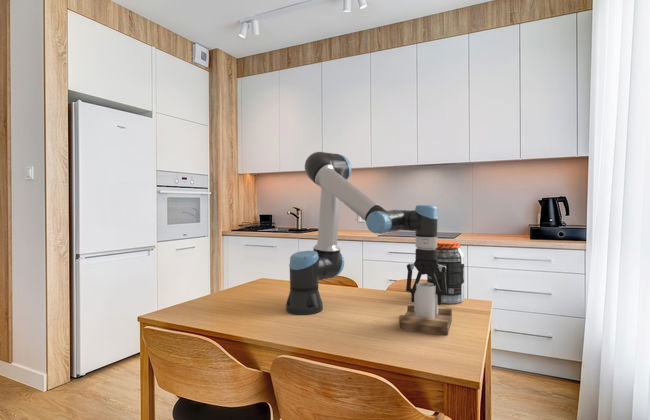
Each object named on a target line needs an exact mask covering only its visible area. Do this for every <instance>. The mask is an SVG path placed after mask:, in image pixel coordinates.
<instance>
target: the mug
mask: <svg viewBox="0 0 650 420" xmlns="http://www.w3.org/2000/svg"><path fill="white" fill-rule="evenodd" d="M415 293H416V317H424V318H433V319H434V317H435V295H436V285H435V286H434V284H433V283H427V281H426V282H424V281H423V282H420V281H419V283H418V285H417V284H416V292H415Z"/></svg>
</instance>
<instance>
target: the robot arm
mask: <svg viewBox="0 0 650 420" xmlns="http://www.w3.org/2000/svg"><path fill="white" fill-rule="evenodd" d="M304 172H305V174H306V177H308V179H309V180H310V181H312V183H314V184H315V185H316V186H318V187H320V201H319V203H320V204H319V213H318V214H319V215H318V230H317V231H318V232H317V243H316V244H315V245H314V246H313V250H304V251H303V250H302V251H297V252H295V253H292V255H291V256H290V257H289V265H288V266H289V293H288V297H287V300H286V304H285V311H286V312H287V313H289V314H293V315H313V314H317V313H320V312H322V311H323V309H324V304H323V303H324V302H323V301H322V300H323V299H322V297H321V294H320V291H319V281H323V280H327V279H332V278H334V277H336V276H339V275H340V274H341V273H342V271H343V270H344V267H345V259H344V257H343V254H342V252H341V248H340V247H339V246H338V236H339V235H338V234H339V233H338V232H339V223H340V222H339V221H340V210H341V203H343V204H344V205H345V206H346V207H347V208H349V209H350V210H351V211H352V212H353V213H354V214H356V215H357V216H358V217H359V218H361V219H362V220H363V221H364V222H365V223H366V227H367V229H368V230H369V231H370V232H371V233H373V234H380V235H381V234H387V233H391V232H392V233H394V232H400V231H406V232H408V231H409V232H410V231H411V232H414V234H415V247H416V248H415V260H414V263H407V264H406V269H407V276H406V278H407V279H406V288H405V291H406V292H407V293H410V295H411V296H410V297H411V298H410V300H411V303H413V304H414V312H416V284H417V285H418V283H420V280H421V278H422V276H423V275H426V276H427V275H430V276H431V278H432V281H433V284H434V286H435V285H436V292H437V294H436V296H435V315H438V307H439V306H441V305H442V303H441V296H442V295H446V293H447V287H446V277H445V271H446V266H442V265H439V264H438V261H437V249H436V248H437V241H438V219H439V217H438V207H437V206H436V205H433V204H417V205H416V206H415V207H414V208H415V209H414V210H409V209H408V210H407V209H405V210H403V209H401V210H400V209H391V210H390V209H389V210H386V209H385V208H384V207H382V205H379V204H378V203H377V202H376V201H375V200H373V199H372V198H370V197H369V196H368V195H367V194H366V193H364V192H363V191H361V190H360V189H359V188H358V187H356V186H355V185H354V184H353V183H351V182H350V181H349V180H348V179H349V178H350V177H351V175H352V165H351V162H350V160H349V158H348V157H346V156H344V155H343V154H339V153H331V152H326V151H325V152H324V151H316V152H315V151H314V152H313V153H311V154H310V155H309V156H308V157H306V160H305V162H304ZM414 267H415V268H416V270H417V275H416V278H415V279H414V280H415V281H414V283H413V285H412V280H413V279H412V278H413V270H414V269H415V268H414ZM437 268H439V271H440V272H441V281H442V291H441V290H440V287H439V284H438V281H437V278H436V275H435V270H436V269H437Z"/></svg>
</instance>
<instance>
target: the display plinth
mask: <svg viewBox="0 0 650 420" xmlns="http://www.w3.org/2000/svg"><path fill="white" fill-rule="evenodd" d="M406 307H407V308H406V309H407V310H406V311H405V313H404V314H400V315H399V316H398V322H399V325H398V326H399V330H405V331H411V332H412V331H414V332H421V333H429V334H438V335H444V336H449V331H450V329H451V324H452V321H453V318H452V317H453V316H452V314H453V308H452V307H445V306H444V307H443V306H438V315H435V317H434V319H433V318H424V317H416V312H414V303H408V304H407V306H406Z"/></svg>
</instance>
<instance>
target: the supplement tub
mask: <svg viewBox="0 0 650 420" xmlns="http://www.w3.org/2000/svg"><path fill="white" fill-rule="evenodd" d="M436 249H437V261H438V264H439V265H442V266H446V271H445V277H446V287H447V293H446V295H442V296H441V304H459V303H462V302H464V300H465V255H464V252H463V251H462V249H461V242H460V241H455V240H454V241H453V240H437V248H436ZM435 275H436V278H437V281H438V284H439V287H440V290H441V291H442V281H441V272H440V271H439V268H437V269H436V270H435ZM426 278H427V279H426V283H433V281H432V278H431V276H430V275H427V274H426ZM436 294H437V292H436ZM435 296H436V295H435Z"/></svg>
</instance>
